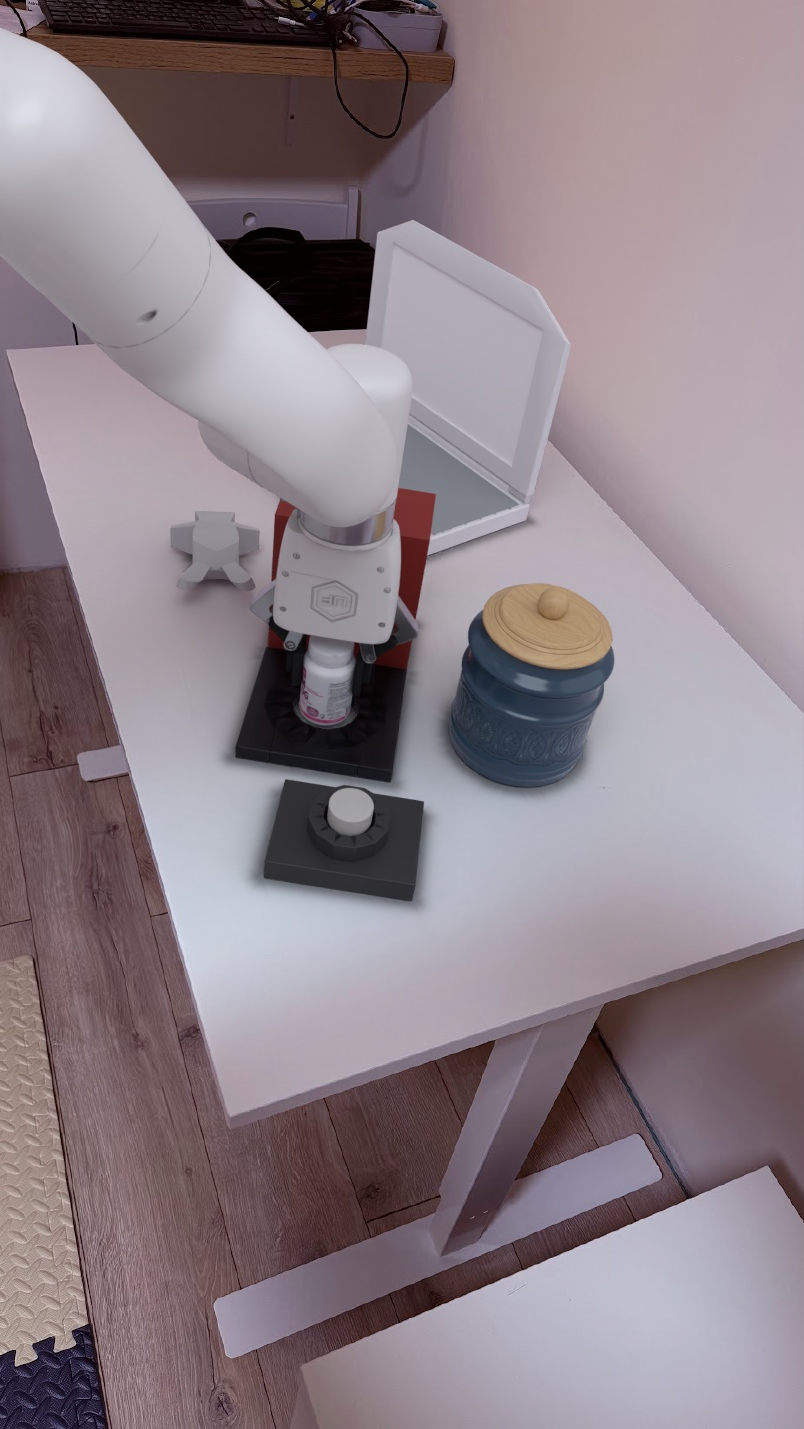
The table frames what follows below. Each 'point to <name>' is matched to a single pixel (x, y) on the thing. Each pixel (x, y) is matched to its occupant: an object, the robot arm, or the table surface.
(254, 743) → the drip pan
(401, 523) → the red box with knob
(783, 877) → the table surface
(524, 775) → the canister
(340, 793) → the button
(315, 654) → the pill bottle
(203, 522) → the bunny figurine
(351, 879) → the control block
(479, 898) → the table surface
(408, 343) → the laptop
